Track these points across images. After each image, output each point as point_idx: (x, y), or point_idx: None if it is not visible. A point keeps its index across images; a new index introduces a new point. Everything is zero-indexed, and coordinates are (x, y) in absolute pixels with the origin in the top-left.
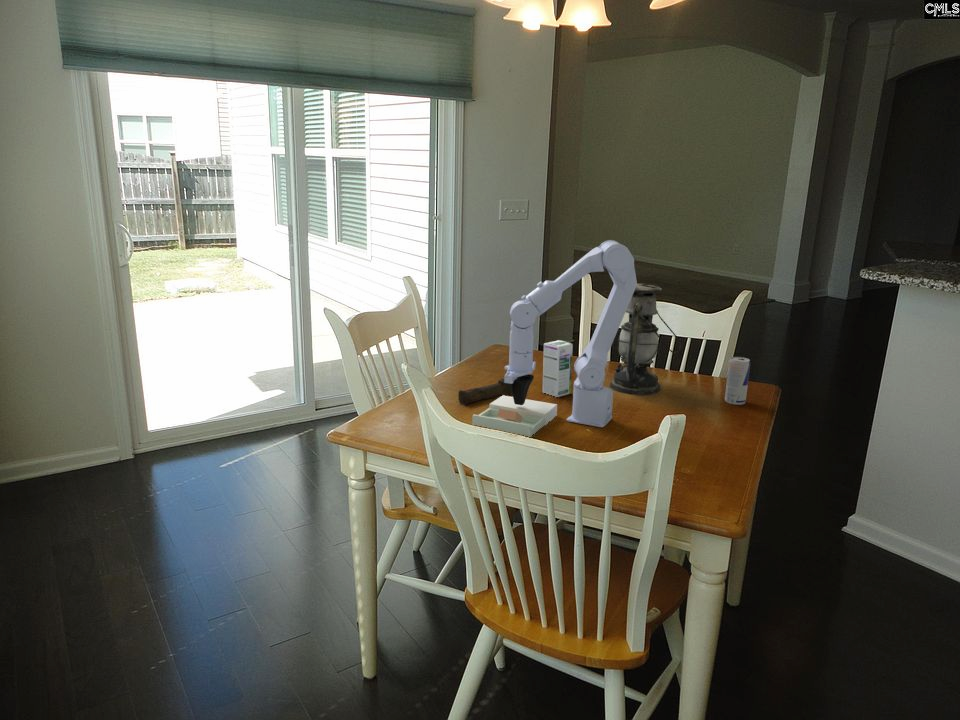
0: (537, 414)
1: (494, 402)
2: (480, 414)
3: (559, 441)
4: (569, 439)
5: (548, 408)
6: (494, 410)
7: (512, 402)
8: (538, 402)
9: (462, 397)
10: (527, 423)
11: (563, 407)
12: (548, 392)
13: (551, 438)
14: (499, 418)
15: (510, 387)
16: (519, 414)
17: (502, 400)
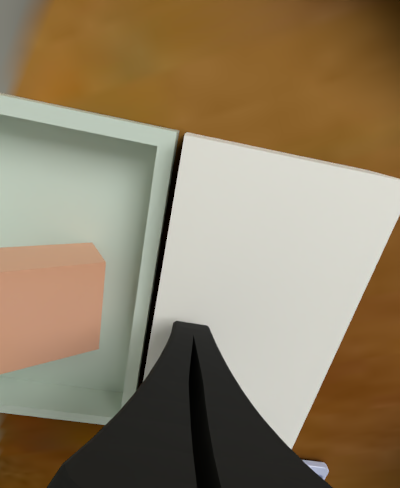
0: None
1: (229, 163)
2: (21, 107)
3: (8, 454)
4: (44, 473)
5: None
6: (153, 179)
7: (261, 279)
8: (296, 397)
9: None
10: (116, 345)
11: (379, 418)
12: None
13: (21, 432)
14: (13, 248)
15: (126, 404)
16: (43, 362)
17: (288, 209)
